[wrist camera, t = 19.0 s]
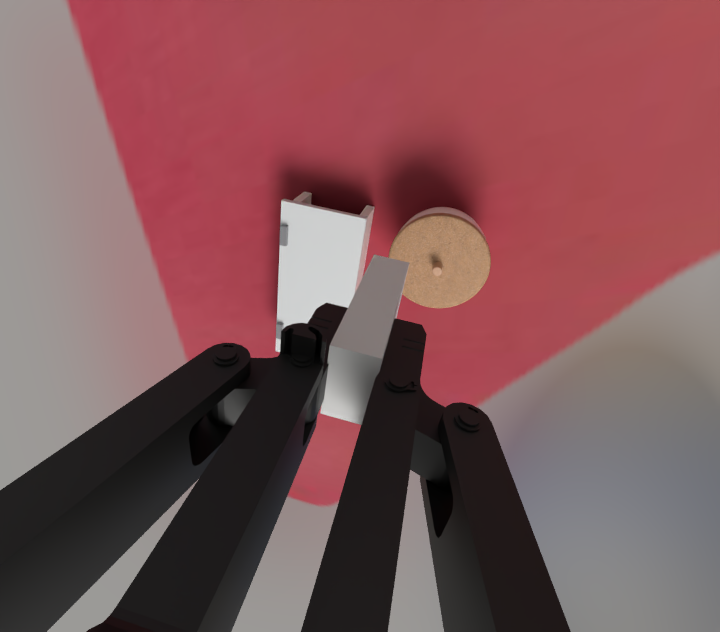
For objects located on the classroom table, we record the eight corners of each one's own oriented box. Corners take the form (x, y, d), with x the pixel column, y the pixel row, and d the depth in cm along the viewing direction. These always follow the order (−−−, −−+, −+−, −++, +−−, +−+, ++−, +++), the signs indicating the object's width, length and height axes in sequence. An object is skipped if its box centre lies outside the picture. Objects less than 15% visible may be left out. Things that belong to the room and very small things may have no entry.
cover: (284, 198, 46) (279, 201, 45) (367, 216, 45) (365, 220, 44) (277, 347, 58) (274, 353, 57) (343, 364, 57) (341, 371, 56)
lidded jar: (391, 269, 52) (378, 304, 44) (406, 187, 46) (395, 210, 39) (472, 287, 51) (474, 326, 43) (499, 205, 45) (506, 232, 37)
